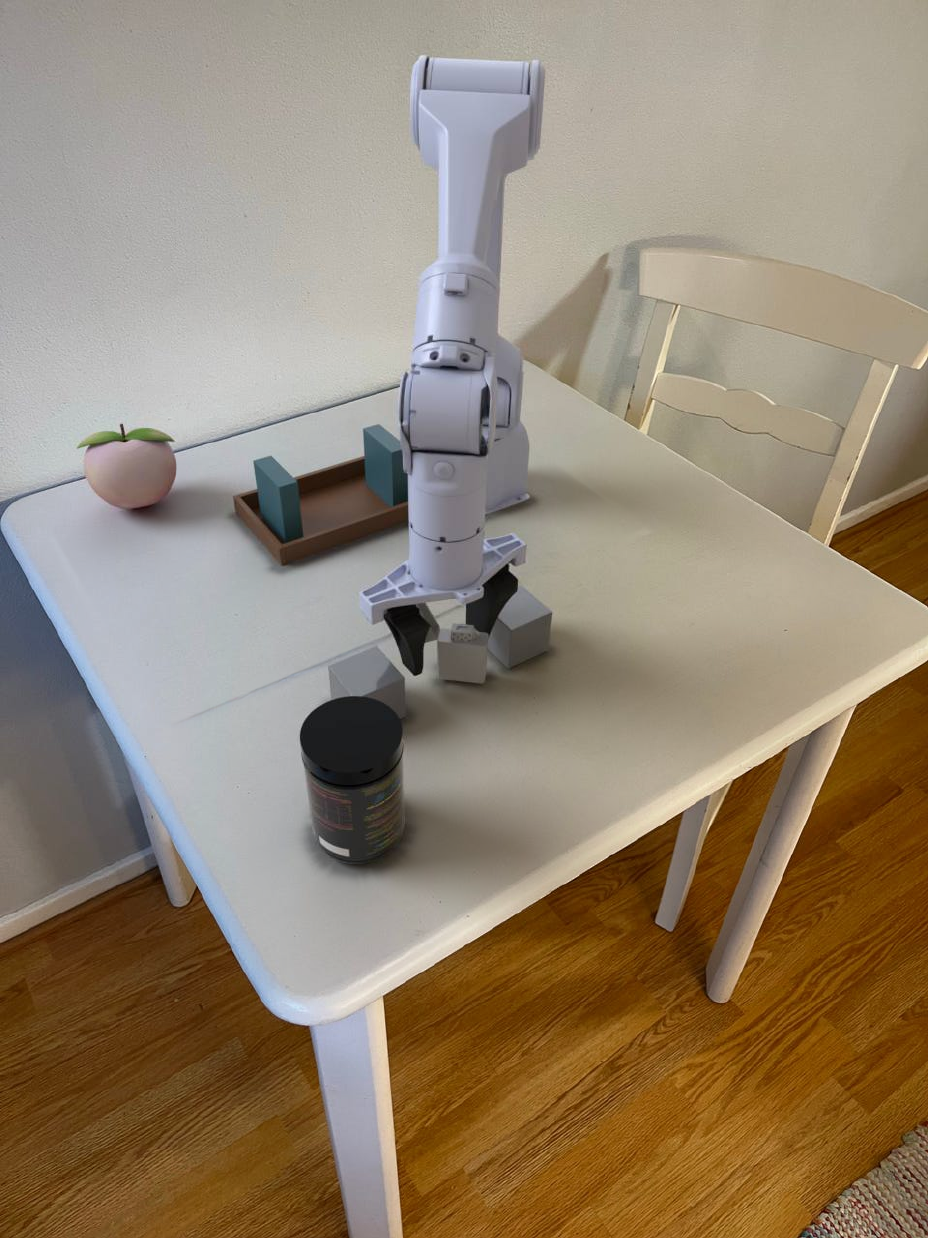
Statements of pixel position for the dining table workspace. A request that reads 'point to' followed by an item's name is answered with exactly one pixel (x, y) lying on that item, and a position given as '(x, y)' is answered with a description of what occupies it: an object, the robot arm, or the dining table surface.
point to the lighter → (457, 649)
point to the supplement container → (354, 778)
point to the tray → (325, 512)
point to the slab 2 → (385, 465)
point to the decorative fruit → (130, 466)
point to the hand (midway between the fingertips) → (444, 653)
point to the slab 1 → (278, 499)
